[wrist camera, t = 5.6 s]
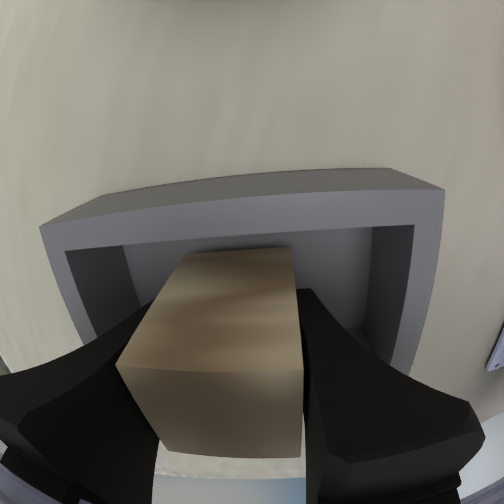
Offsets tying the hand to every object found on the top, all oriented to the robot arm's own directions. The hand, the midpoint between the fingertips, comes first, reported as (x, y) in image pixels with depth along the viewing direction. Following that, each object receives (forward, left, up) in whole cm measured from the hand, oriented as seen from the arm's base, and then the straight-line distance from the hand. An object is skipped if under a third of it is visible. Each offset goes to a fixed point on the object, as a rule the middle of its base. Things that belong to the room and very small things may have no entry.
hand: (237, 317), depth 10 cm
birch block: (0, 0, -2) cm, 2 cm away
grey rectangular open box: (0, 0, -4) cm, 4 cm away
